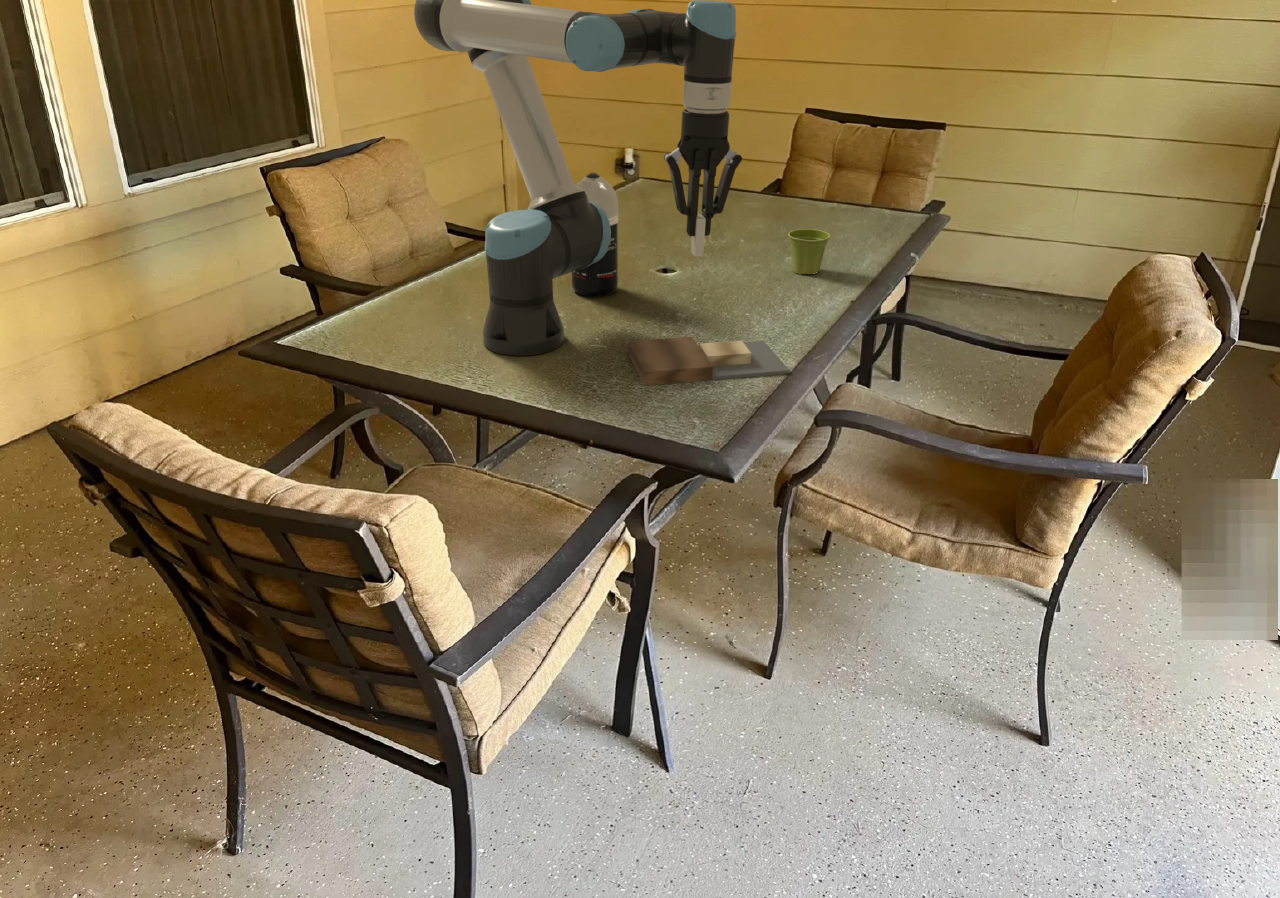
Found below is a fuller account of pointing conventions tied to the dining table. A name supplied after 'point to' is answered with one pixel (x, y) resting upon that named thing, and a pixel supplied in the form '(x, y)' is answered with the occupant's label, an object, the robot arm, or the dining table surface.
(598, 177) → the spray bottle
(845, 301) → the dining table surface
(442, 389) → the dining table surface
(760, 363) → the slate mat
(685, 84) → the robot arm
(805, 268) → the plant pot
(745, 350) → the birch tile
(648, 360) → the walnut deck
